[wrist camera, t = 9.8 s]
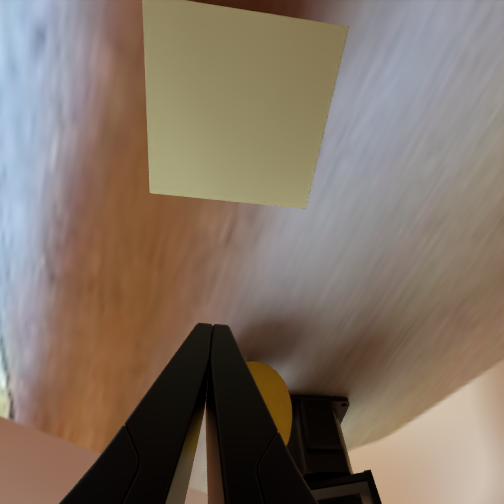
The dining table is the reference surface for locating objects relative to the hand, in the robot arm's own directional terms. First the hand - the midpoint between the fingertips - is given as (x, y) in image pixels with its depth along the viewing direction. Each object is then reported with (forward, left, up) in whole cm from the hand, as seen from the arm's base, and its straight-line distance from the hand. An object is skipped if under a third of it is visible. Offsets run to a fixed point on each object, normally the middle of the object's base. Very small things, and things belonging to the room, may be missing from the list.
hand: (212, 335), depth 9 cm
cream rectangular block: (+5, 0, -10) cm, 11 cm away
